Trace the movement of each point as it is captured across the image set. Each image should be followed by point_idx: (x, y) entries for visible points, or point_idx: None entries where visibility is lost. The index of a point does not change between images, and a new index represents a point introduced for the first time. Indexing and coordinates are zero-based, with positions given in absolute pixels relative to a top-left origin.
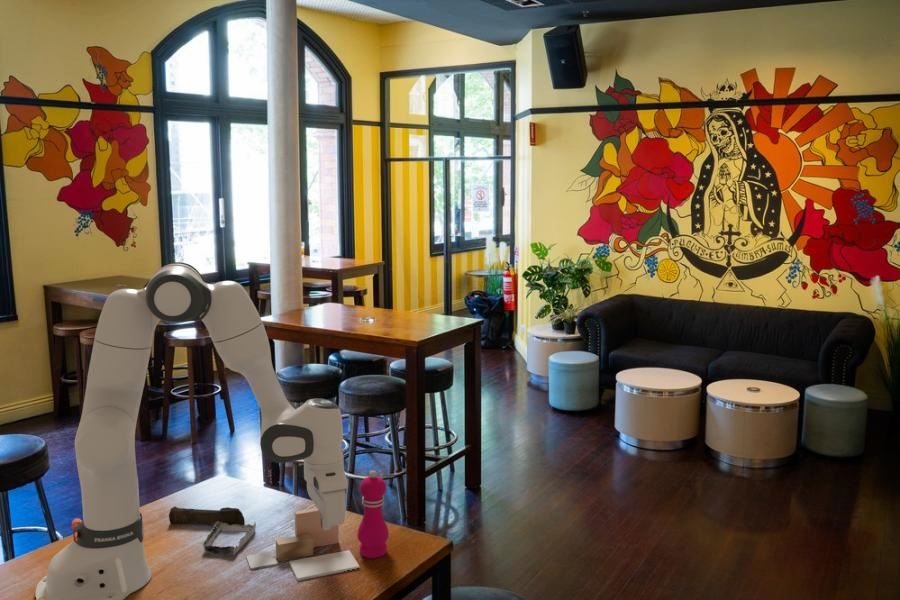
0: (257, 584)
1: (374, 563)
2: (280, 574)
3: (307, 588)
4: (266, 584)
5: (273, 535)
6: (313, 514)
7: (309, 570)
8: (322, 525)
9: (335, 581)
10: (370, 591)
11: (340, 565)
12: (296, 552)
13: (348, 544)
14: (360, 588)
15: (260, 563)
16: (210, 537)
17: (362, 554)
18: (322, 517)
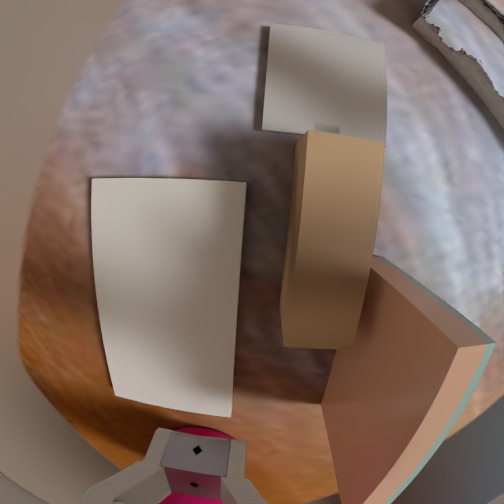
0: (146, 36)
1: (139, 427)
2: (172, 123)
3: (49, 202)
4: (128, 64)
5: (492, 211)
6: (394, 438)
7: (127, 242)
8: (161, 448)
9: (63, 300)
10: (21, 349)
11: (131, 356)
12: (289, 235)
13: (289, 423)
14: (30, 339)
15: (295, 63)
16: (502, 22)
17: (187, 430)
18: (114, 496)
